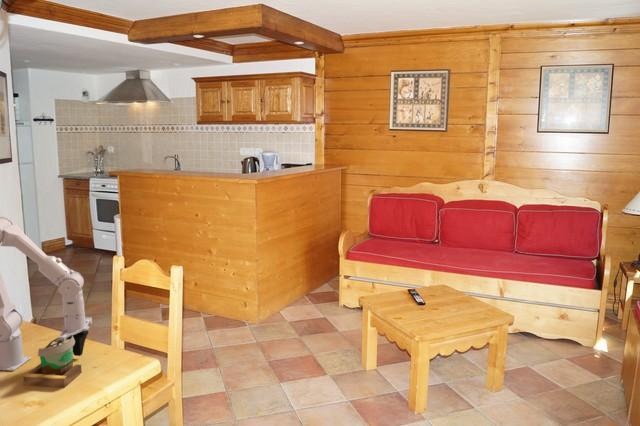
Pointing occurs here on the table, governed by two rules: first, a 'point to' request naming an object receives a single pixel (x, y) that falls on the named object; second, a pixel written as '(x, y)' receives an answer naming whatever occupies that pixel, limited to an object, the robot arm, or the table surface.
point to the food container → (57, 356)
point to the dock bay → (51, 377)
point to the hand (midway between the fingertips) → (78, 354)
